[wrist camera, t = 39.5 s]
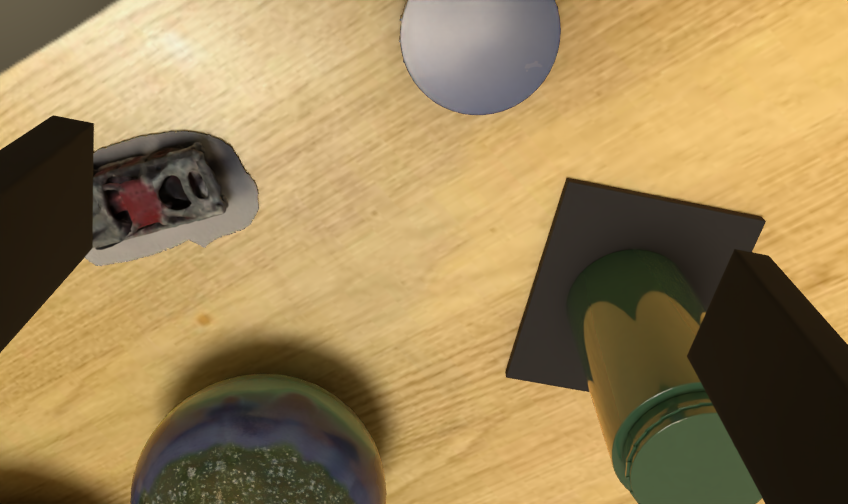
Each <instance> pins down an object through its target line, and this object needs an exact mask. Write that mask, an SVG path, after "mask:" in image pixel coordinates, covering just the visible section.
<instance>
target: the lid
mask: <svg viewBox="0 0 848 504" xmlns="http://www.w3.org/2000/svg"><path fill="white" fill-rule="evenodd" d="M400 21H401V29H400V37H399V42H400V44H401V51H402V56H403V62H404V63H405V65H406V68H407V70H408V72H409V74H410V76H411V77H412V79H413V81H414V82H415V84H416V85H417V86H418V87H419V89H420V90H421V91H422V92H423V93H424V94H425V95H426V96H427V97H429V98H430V99H431V100H433V101H434V102H435V103H437V104H439V105H441V106H442V107H444V108H446V109H449V110H451V111H454V112H458V113H462V114H469V115H486V114H494V113H497V112H501V111H504V110H507V109H509V108H512V107H514V106H515V105H517V104H519V103H521V102H522V101H524V100H525V99H526V98H528V97H529V96H530V95H531V94H532V93H533V92H535V91H536V90H537V89H538V87H539V86H540V85H541V84H542V83H543V81H544V80H545V79H546V77H547V75H548V74H549V72H550V70H551V68H552V66H553V64H554V62H555V59H556V56H557V53H558V48H559V43H560V32H561V28H560V18H559V13H558V7H557V5H556V2H555V0H407V1H406V3H405V6H404V10H403V15H401V17H400Z"/></svg>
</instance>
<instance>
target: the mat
mask: <svg viewBox="0 0 848 504" xmlns="http://www.w3.org/2000/svg"><path fill="white" fill-rule="evenodd" d="M765 222H766V221H765V220H764V219H763V218H762V217H758V216H753V215H748V214H743V213H739V212H734V211H729V210H724V209H719V208H714V207H709V206H704V205H699V204H694V203H689V202H684V201H679V200H674V199H669V198H664V197H659V196H654V195H649V194H644V193H639V192H634V191H629V190H624V189H619V188H614V187H609V186H604V185H599V184H594V183H589V182H584V181H579V180H574V179H569V178H567V179H566V182H565V186H564V189H563V192H562V195H561V198H560V201H559V204H558V208H557V211H556V214H555V217H554V220H553V223H552V227H551V230H550V233H549V236H548V239H547V242H546V246H545V249H544V252H543V255H542V258H541V261H540V264H539V268H538V271H537V274H536V277H535V280H534V283H533V287H532V290H531V293H530V296H529V299H528V302H527V306H526V309H525V312H524V315H523V318H522V321H521V324H520V328H519V331H518V334H517V337H516V340H515V343H514V347H513V350H512V353H511V356H510V359H509V362H508V366H507V369H506V377H507V378H512V379H518V380H524V381H530V382H535V383H541V384H547V385H553V386H558V387H564V388H570V389H575V390H581V391H587V392H590V391H589V388H588V385H587V381H586V378H585V375H584V372H583V369H582V365H581V362H580V359H579V356H578V353H577V349H576V346H575V343H574V340H573V337H572V333H571V330H570V327H569V324H568V320H567V315H566V302H567V297H568V293H569V291H570V289H571V286H572V285H573V283H574V281H575V280H576V278H577V277H578V276H579V274H580V273H581V272H582V271H583V270H584V269H585V268H586V267H588V266H589V265H590V264H591V263H593V262H595V261H596V260H598V259H599V258H601V257H604V256H606V255H608V254H611V253H614V252H618V251H622V250H631V249H640V250H648V251H652V252H656V253H659V254H661V255H664V256H665V257H667V258H669V259H670V260H672V261H673V262H674V263H676V264H677V266H678V267H679V268H680V269H681V270H682V272H683V273H684V275H685V276H686V278H687V279H688V281H689V282H690V284H691V286H692V287H693V289H694V290H695V292H696V293H697V295H698V297H699V298H700V300H701V301H702V303H703V304H704V306H705V308H706V309H708V307H709V305H710V303H711V300H712V298H713V296H714V294H715V291H716V289H717V287H718V285H719V283H720V280H721V278H722V276H723V274H724V271H725V269H726V267H727V265H728V262H729V260H730V258H731V256H732V253H733V251H734V249H737V250H742V251H747V252H752V250H753V248H754V246H755V244H756V242H757V239H758V237H759V235H760V233H761V231H762V229H763V226H764V224H765Z"/></svg>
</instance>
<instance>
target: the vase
mask: <svg viewBox="0 0 848 504" xmlns="http://www.w3.org/2000/svg"><path fill="white" fill-rule="evenodd" d="M130 504H386V482H385V476H384V469H383V465H382V462H381V458H380V455H379V452H378V450H377V447H376V444H375V442H374V440H373V438H372V437H371V435H370V433H369V432H368V430H367V428H366V427H365V425H364V424H363V422H362V421H361V420H360V418H359V417H358V416H357V415H356V414H355V413H354V411H353V410H352V409H351V408H349V407H348V406H347V405H346V404H345V403H344V402H342V401H341V400H340V399H339V398H338V397H336V396H335V395H333V394H332V393H330V392H329V391H327V390H325V389H324V388H322V387H320V386H318V385H315V384H313V383H311V382H309V381H305V380H302V379H299V378H296V377H291V376H286V375H280V374H266V373H261V374H248V375H242V376H238V377H233V378H228V379H224V380H222V381H219V382H216V383H214V384H211V385H209V386H207V387H205V388H203V389H202V390H200V391H198V392H196V393H194V394H193V395H191V396H189V397H187V398H186V399H185V400H184V401H182V402H181V403H180V404H179V405H178V406H176V407H175V408H174V409H173V410H172V411H171V412H170V413H169V414H168V415H167V416H166V417H165V418H164V419H163V420H162V422H161V423H160V424H159V425H158V426H157V427H156V429H155V430H154V432H153V433H152V435H151V436H150V438H149V439H148V441H147V443H146V445H145V446H144V448H143V450H142V452H141V454H140V457H139V460H138V462H137V465H136V469H135V472H134V475H133V480H132V486H131V500H130Z"/></svg>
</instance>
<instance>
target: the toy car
mask: <svg viewBox="0 0 848 504" xmlns="http://www.w3.org/2000/svg"><path fill="white" fill-rule="evenodd" d="M238 159H239V158H238V157H237V156H236V153H234V152H233V149H232V148H231V147H230V146H229V145H228V144H227V145H226V144H225V142H223V141H222V140H220V139H217V138H214V137H211V135H205V134H202V133H200V134H199V133H195V132H188V131H181V132H179V131H177V132H176V133H175V132H174V131H170V132H168V133H165V132H164V133H161V134H154V135H152V134H151V135H147V137H146V136H139V137H138V138H137V137H136V138H135V139H134V138H132V139H130V140H129V141H128V140H127V141H126V142H125V141H123V142H121V143H119V144H115V145H111V146H109V147H107V148H101V149H99V150H98V151H96V152H95V153H94V154H93V248H92V249H91V251H90V252H89V253H88V254H87V255H86V256H85V258H86V259H87V260H88V261H89V262H91V263H93V264H95V265H96V266H98V265H99V266H102V265H109V264H114V263H122V262H125V261H126V262H128V261H133V260H135V259H139V258H143V257H146V256H150V255H154V254H156V253H160V252H162V251H163V250H165V251H166V250H167V248H169V249H171V248H173V247H174V246H178V244H179V245H180V244H182V243H184V242H185V241H188V240H190V241H192V242H195V243H197V244H198V245H201V246H202V247H206V246H207V245H208V244H209V243H210V242H212V241H214V240H215V239H217V238H219V237H222V236H225V235H230V234H232V233H236V232H235V231H241V229H245V227H248V226H249V225H250V224H251V222H252V219H254V217H255V216H256V215H255V214H256V213H257V211H258V209H259V207H258V201H257V200H258V199H257V198H258V197H257V196H258V191H257V186H256V185H255V183H254V181H253V180H252V179H251V178H250V175H249V174H246V173H245V172H246V171H245V170H244V167H242V164H241V162H240V160H238Z"/></svg>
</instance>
